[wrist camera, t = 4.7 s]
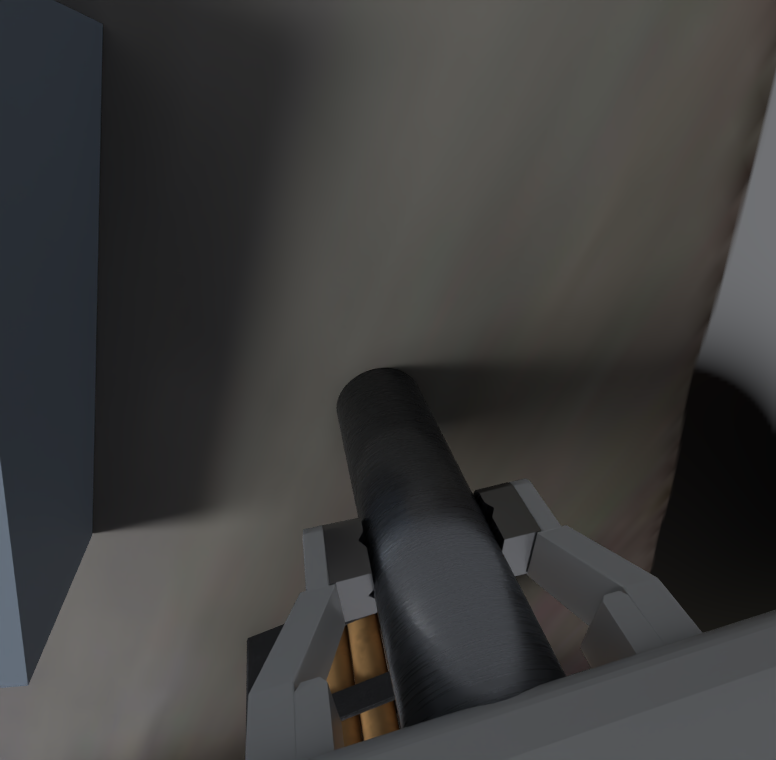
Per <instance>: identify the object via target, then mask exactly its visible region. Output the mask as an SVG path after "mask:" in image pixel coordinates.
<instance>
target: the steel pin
mask: <svg viewBox="0 0 776 760" xmlns="http://www.w3.org/2000/svg"><path fill="white" fill-rule="evenodd" d="M337 415H338V420H339V425H340V430H341V435H342V440H343V445H344V450H345V455H346V460H347V464H348V469H349V474H350V479H351V484H352V489H353V494H354V499H355V504H356V509H357V514H358V518H360V519H361V524H362V528H363V533H364V539H365V546H366V547H367V552H368V557H369V562H370V567H371V572H372V578H373V584H374V590H373V592H374V597H375V602H376V607H377V612H378V617H379V622H380V627H381V632H382V637H383V642H384V647H385V652H386V656H387V661H388V666H389V671H390V676H391V681H392V686H393V691H394V696H395V701H396V706H397V711H398V715H399V720H400V725H401V729H403V728H406V727H409V726H412V725H415V724H418V723H421V722H425V721H428V720H431V719H434V718H437V717H440V716H443V715H447V714H450V713H453V712H456V711H459V710H463V709H468V708H472V707H477V706H482V705H488V704H493V703H496V702H500V701H503V700H507V699H509V698H512V697H514V696H517V695H519V694H521V693H523V692H525V691H527V690H530V689H532V688H534V687H536V686H538V685H541V684H544V683H547V682H550V681H554V680H557V679H560V678H563V677H566V676H565V674H564V672H563V670H562V668H561V666H560V664H559V662H558V660H557V658H556V656H555V654H554V652H553V650H552V648H551V646H550V644H549V642H548V640H547V638H546V636H545V634H544V632H543V631H542V629H541V627H540V625H539V623H538V621H537V619H536V617H535V615H534V613H533V611H532V609H531V607H530V605H529V603H528V601H527V599H526V597H525V595H524V593H523V591H522V589H521V587H520V585H519V584H518V582H517V580H516V578H515V576H514V574H513V572H512V570H511V568H510V566H509V564H508V562H507V560H506V558H505V556H504V554H503V552H502V550H501V548H500V546H499V544H498V542H497V540H496V538H495V537H494V535H493V533H492V531H491V529H490V527H489V525H488V523H487V521H486V519H485V517H484V515H483V513H482V511H481V509H480V507H479V505H478V503H477V501H476V499H475V497H474V495H473V493H472V492H471V490H470V488H469V486H468V484H467V482H466V480H465V478H464V476H463V474H462V472H461V470H460V468H459V466H458V464H457V462H456V460H455V458H454V456H453V454H452V452H451V450H450V448H449V446H448V445H447V443H446V441H445V439H444V437H443V435H442V433H441V431H440V429H439V427H438V425H437V423H436V421H435V419H434V417H433V415H432V413H431V411H430V409H429V407H428V405H427V403H426V401H425V400H424V398H423V396H422V394H421V392H420V390H419V388H418V386H417V384H416V383H415V381H414V380H413V379H412V378H411V377H410V376H409V375H407V374H405V373H404V372H401V371H399V370H395V369H389V368H382V369H375V370H370V371H367V372H365V373H362V374H360V375H359V376H357V377H355V378H354V379H353V380H351V381H350V382H349V383H348V384H347V385H346V386H345V387H344V389H343V390H342V392H341V393H340V396H339V398H338V401H337Z"/></svg>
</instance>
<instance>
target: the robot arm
mask: <svg viewBox="0 0 776 760" xmlns="http://www.w3.org/2000/svg"><path fill="white" fill-rule="evenodd" d="M473 495H474V497H475V499H476V501H477V503H478V505H479V507H480V509H481V511H482V513H483V515H484V517H485V519H486V521H487V523H488V525H489V527H490V529H491V531H492V533H493V535H494V537H495V538H496V540H497V542H498V544H499V546H500V548H501V550H502V552H503V554H504V556H505V558H506V560H507V562H508V564H509V566H510V568H511V570H512V572H513V574H514V576H518V575H522V574H526V573H527V576H529V577H530V578H531V579H532V580H533V581H535V582H536V583H537V584H538V585H540V586H541V587H542V588H543V589H544V590H546V591H547V592H548V593H549V594H551V595H552V596H553V597H554V598H555V599H557V600H558V601H559V602H560V603H562V604H563V605H564V606H565V607H566V608H568V609H569V610H570V611H571V612H573V613H574V614H575V615H576V616H577V617H579V618H580V619H581V620H582V621H584V622H585V623H586V624H587V625H588V626H589V628H588V630H587V632H586V635H585V637H584V639H583V641H582V644H581V647H580V649H581V651H582V653H583V654H584V656H585V658H586V660H587V662H588V663H589V665H590V667H591V669H588V670H585V671H582V672H579V673H576V674H572V675H569V676H566V677H563V678H560V679H557V680H554V681H550V682H547V683H544V684H541V685H538V686H536V687H534V688H532V689H530V690H527V691H525V692H523V693H521V694H519V695H517V696H514V697H512V698H509V699H507V700H503V701H500V702H496V703H493V704H488V705H482V706H477V707H472V708H468V709H463V710H459V711H456V712H453V713H450V714H447V715H443V716H440V717H437V718H434V719H431V720H428V721H425V722H421V723H418V724H415V725H412V726H409V727H406V728H403V729H399V730H396V731H393V732H390V733H387V734H384V735H380V736H377V737H374V738H371V739H368V740H365V741H362V742H358V743H355V744H352V745H349V746H346V747H344V740H343V732H342V724H341V720H340V717H339V714H338V711H337V708H336V706H335V703H334V700H333V697H332V694H331V691H330V688H329V685H328V682H327V681H326V680H327V677H328V674H329V671H330V669H331V666H332V663H333V660H334V657H335V654H336V651H337V648H338V645H339V642H340V639H341V636H342V633H343V630H344V628H345V622H348V621H351V620H354V619H358V618H361V617H364V616H368V615H371V614H374V613H377V607H376V602H375V597H374V592H373V590H374V584H373V578H372V572H371V567H370V562H369V557H368V552H367V547H366V546H365V539H364V533H363V528H362V524H361V519H360V518H355V519H350V520H345V521H340V522H336V523H331V524H326V525H321V526H316V527H312V528H308V529H303V550H304V566H305V581H306V591H305V592H301V593H300V594H299V596H298V598H297V600H296V602H295V604H294V606H293V608H292V610H291V612H290V614H289V616H288V618H287V620H286V622H285V624H284V626H283V628H282V630H281V632H280V634H279V636H278V638H277V640H276V642H275V644H274V646H273V648H272V649H271V651H270V653H269V655H268V657H267V659H266V661H265V663H264V665H263V667H262V669H261V671H260V673H259V675H258V677H257V679H256V681H255V683H254V685H253V687H252V689H251V691H250V693H249V695H248V712H247V733H246V753H245V760H776V610H774V611H771V612H768V613H764V614H761V615H758V616H755V617H752V618H749V619H746V620H742V621H739V622H736V623H733V624H730V625H727V626H723V627H721V628H718V629H714V630H711V631H708V632H705V633H702V632H701V631H700V629H699V628H698V627H697V626H696V624H695V623H694V622H693V621H692V620H691V618H690V617H689V616H688V615H687V613H686V612H685V611H684V610H683V609H682V607H681V606H680V605H679V604H678V602H677V601H676V600H675V599H674V597H673V596H672V595H671V594H670V592H669V591H668V590H667V589H666V588H665V586H664V585H663V584H662V583H661V581H660V580H659V579H658V578H657V577H655V576H653V575H651V574H650V573H648V572H646V571H644V570H643V569H641V568H639V567H638V566H636V565H634V564H632V563H631V562H629V561H627V560H625V559H624V558H622V557H620V556H619V555H617V554H615V553H613V552H612V551H610V550H608V549H606V548H605V547H603V546H601V545H600V544H598V543H596V542H594V541H593V540H591V539H589V538H588V537H586V536H584V535H582V534H581V533H579V532H577V531H575V530H574V529H572V528H570V527H569V526H567V525H565V526H561V525H560V524H559V522H558V521H557V519H556V518H555V516H554V515H553V514H552V512H551V511H550V509H549V508H548V506H547V505H546V503H545V502H544V501H543V499H542V498H541V496H540V495H539V493H538V492H537V491H536V489H535V488H534V486H533V485H532V483H531V482H530V481H529V480H528V479H521V480H517V481H513V482H509V483H508V482H506V483H502V484H498V485H494V486H490V487H486V488H482V489H478V490H475V491H474V493H473Z"/></svg>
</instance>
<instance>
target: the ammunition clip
mask: <svg viewBox="0 0 776 760" xmlns="http://www.w3.org/2000/svg"><path fill="white" fill-rule="evenodd" d="M283 626H284V624H283V625H281V626H278V627H276V628H273V629H270V630H268V631H265V632H263V633H260V634H258V635H255V636H252V637H250V638H248V640H247V696H246V733H247V712H248V695H249V693H250V691H251V689H252V687H253V685H254V683H255V681H256V679H257V677H258V675H259V673H260V671H261V669H262V667H263V665H264V663H265V661H266V659H267V657H268V655H269V653H270V651H271V649H272V648H273V646H274V644H275V642H276V640H277V638H278V636H279V634H280V632H281V630H282V628H283ZM380 629H381V627H380V622H379V617H378V612H377V613H374V614H371V615H368V616H364V617H361V618H358V619H354V620H351V621H348V622H345V628H344V630H343V633H342V636H341V639H340V642H339V645H338V648H337V651H336V654H335V657H334V660H333V663H332V666H331V669H330V671H329V674H328V677H327V680H326V681H327V682H328V685H329V688H330V691H331V694H332V697H333V700H334V703H335V706H336V708H337V711H338V714H339V717H340V720H341V724H342V732H343V740H344V747H346V746H349V745H352V744H355V743H358V742H362V741H363V740H364V741H365V740H368V739H371V738H374V737H377V736H380V735H384V734H387V733H390V732H393V731H396V730H399V725H398V720H397V715H396V713H398V711H397V706H396V701H395V696H394V691H393V686H392V681H391V676H390V671H389V672H388V669H387V664H386V659H385V654H384V649H385V647H384V648H383V644H384V642H383V643H382V639H383V637H382V638H381V634H382V632H381V633H380ZM385 653H386V652H385ZM351 657H352V658H351ZM386 658H387V656H386ZM387 663H388V661H387ZM352 664H353V665H352ZM388 668H389V666H388ZM353 671H354V673H353ZM354 678H355V680H354ZM398 716H399V715H398ZM399 721H400V720H399ZM400 726H401V725H400ZM361 727H362V732H361ZM362 733H363V740H362Z"/></svg>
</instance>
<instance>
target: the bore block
mask: <svg viewBox="0 0 776 760" xmlns="http://www.w3.org/2000/svg"><path fill="white" fill-rule="evenodd" d="M102 41H103V24H102V23H100V22H98V21H96V20H94V19H92V18H90V17H87V16H85V15H83V14H81V13H79V12H77V11H75V10H73V9H71V8H69V7H67V6H65V5H63V4H60V3H58V2H56V1H54V0H0V688H3V687H15V686H27V685H28V684H29V682H30V680H31V677H32V675H33V673H34V670H35V668H36V666H37V663H38V661H39V659H40V656H41V654H42V652H43V649H44V647H45V644H46V642H47V640H48V637H49V635H50V633H51V630H52V628H53V626H54V623H55V621H56V619H57V616H58V614H59V612H60V609H61V607H62V605H63V602H64V600H65V598H66V595H67V593H68V590H69V588H70V586H71V583H72V581H73V579H74V576H75V574H76V572H77V569H78V567H79V565H80V562H81V560H82V558H83V555H84V553H85V551H86V548H87V546H88V544H89V541H90V539H91V536H92V523H93V475H94V427H95V378H96V330H97V282H98V234H99V186H100V137H101V89H102Z"/></svg>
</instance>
